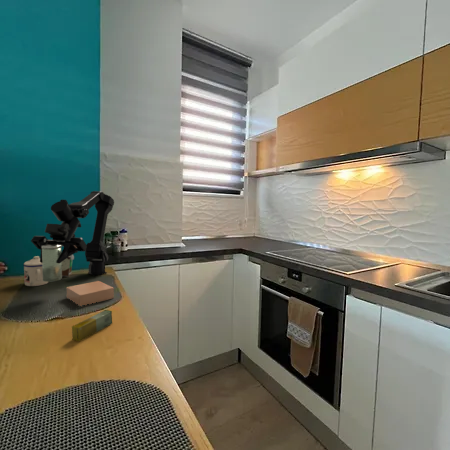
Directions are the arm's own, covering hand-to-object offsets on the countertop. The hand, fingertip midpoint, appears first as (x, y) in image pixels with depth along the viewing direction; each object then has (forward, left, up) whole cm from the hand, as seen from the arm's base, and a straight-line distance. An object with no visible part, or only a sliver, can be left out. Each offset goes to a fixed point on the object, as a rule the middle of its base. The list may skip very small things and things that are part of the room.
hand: (49, 262), depth 99 cm
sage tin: (-1, -1, -7) cm, 7 cm away
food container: (-15, -31, -14) cm, 37 cm away
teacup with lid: (-2, -22, -14) cm, 26 cm away
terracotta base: (-10, +9, -13) cm, 19 cm away
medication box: (0, +35, -14) cm, 38 cm away
